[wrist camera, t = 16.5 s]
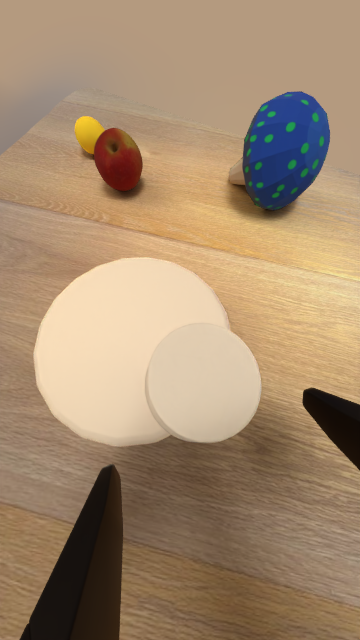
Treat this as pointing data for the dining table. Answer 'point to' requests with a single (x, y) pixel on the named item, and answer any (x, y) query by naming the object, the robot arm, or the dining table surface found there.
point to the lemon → (88, 132)
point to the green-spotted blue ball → (283, 150)
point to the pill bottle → (202, 383)
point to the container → (115, 344)
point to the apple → (118, 159)
